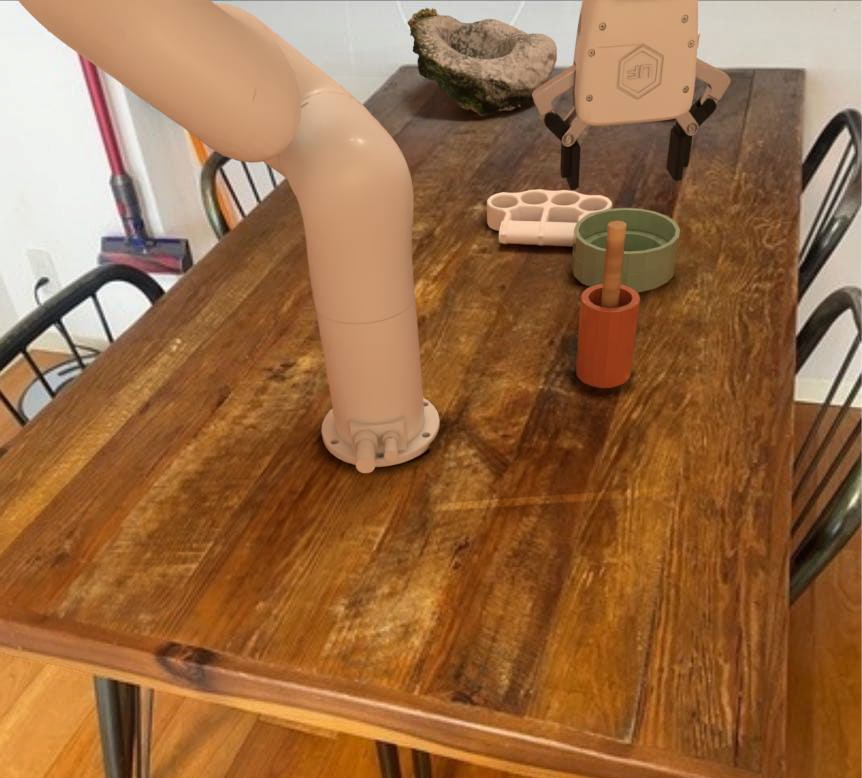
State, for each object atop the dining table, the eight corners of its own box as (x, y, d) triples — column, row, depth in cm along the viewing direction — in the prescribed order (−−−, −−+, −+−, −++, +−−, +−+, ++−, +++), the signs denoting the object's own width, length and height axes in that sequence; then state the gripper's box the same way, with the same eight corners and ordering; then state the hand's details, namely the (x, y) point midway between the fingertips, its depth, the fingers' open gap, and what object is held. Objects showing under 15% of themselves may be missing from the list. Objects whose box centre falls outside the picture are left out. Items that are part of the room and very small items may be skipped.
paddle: (616, 376, 95) (632, 227, 83) (593, 377, 95) (605, 229, 83) (613, 366, 96) (628, 219, 85) (590, 368, 96) (602, 221, 85)
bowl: (684, 293, 109) (691, 248, 104) (580, 301, 109) (583, 257, 105) (660, 247, 118) (666, 204, 114) (565, 254, 118) (567, 211, 114)
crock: (635, 391, 94) (645, 309, 87) (580, 395, 94) (586, 313, 87) (624, 361, 98) (633, 281, 91) (572, 365, 98) (577, 285, 91)
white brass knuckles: (476, 249, 121) (493, 205, 131) (605, 254, 117) (613, 209, 128) (475, 226, 119) (493, 183, 129) (607, 231, 115) (615, 187, 125)
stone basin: (386, 42, 173) (411, -40, 163) (516, 90, 184) (548, 16, 174) (403, 105, 154) (433, 18, 144) (546, 154, 165) (584, 76, 155)
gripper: (540, -13, 67) (536, 204, 78) (763, -34, 66) (725, 187, 78) (528, -34, 72) (526, 172, 84) (734, -53, 72) (703, 157, 84)
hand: (622, 179), depth 81 cm, fingers open, 9 cm apart
